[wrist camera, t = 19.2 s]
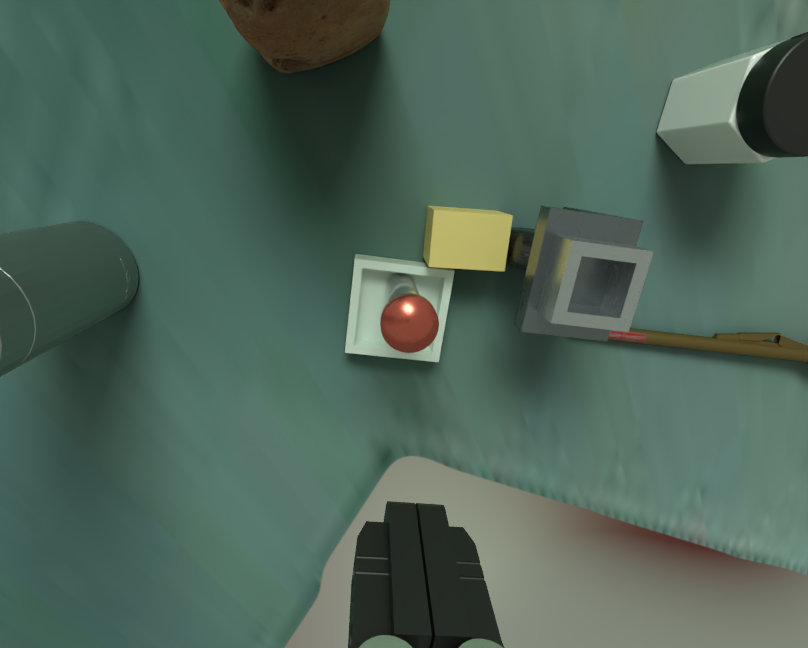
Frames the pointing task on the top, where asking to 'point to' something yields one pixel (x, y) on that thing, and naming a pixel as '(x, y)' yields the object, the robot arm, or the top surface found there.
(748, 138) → the jar
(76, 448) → the top surface
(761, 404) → the top surface
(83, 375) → the top surface
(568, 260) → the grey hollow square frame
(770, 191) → the top surface
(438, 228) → the block
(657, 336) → the brown wooden spoon
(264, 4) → the block
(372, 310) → the tray
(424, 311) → the pin
